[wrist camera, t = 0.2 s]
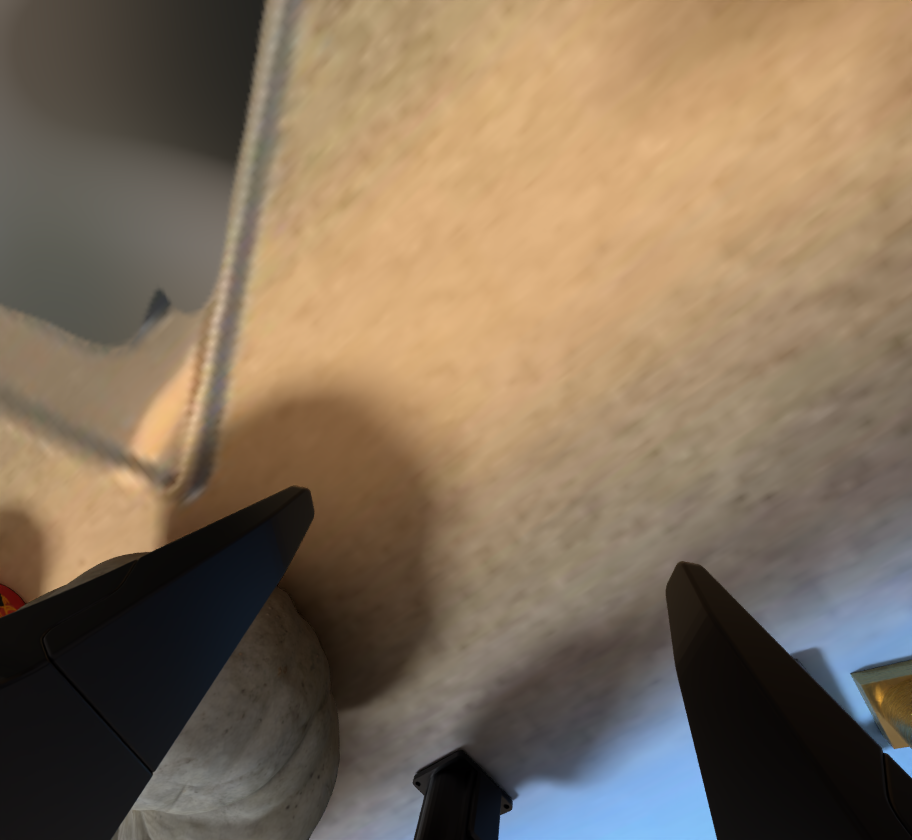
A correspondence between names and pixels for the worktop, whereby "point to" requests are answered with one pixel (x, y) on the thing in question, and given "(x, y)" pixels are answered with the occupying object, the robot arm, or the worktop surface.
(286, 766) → the gourd
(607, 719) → the worktop surface
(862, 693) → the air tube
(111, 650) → the robot arm
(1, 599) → the canned food
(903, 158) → the worktop surface
